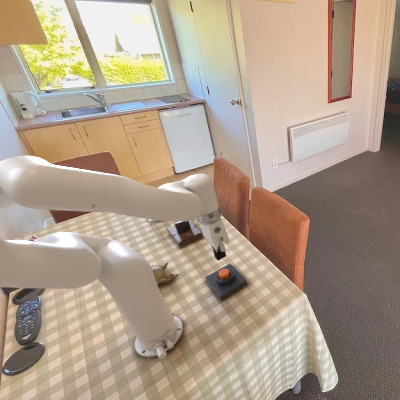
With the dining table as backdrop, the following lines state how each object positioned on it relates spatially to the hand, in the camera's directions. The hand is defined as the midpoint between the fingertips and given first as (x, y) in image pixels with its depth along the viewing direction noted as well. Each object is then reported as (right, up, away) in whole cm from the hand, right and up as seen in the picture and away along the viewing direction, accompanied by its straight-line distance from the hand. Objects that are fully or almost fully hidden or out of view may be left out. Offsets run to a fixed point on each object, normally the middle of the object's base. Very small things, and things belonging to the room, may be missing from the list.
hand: (220, 257), depth 91 cm
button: (0, -8, +4) cm, 9 cm away
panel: (-27, +3, +30) cm, 41 cm away
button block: (0, -11, +6) cm, 12 cm away
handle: (-27, +6, +29) cm, 40 cm away
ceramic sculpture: (-26, -11, +6) cm, 29 cm away
